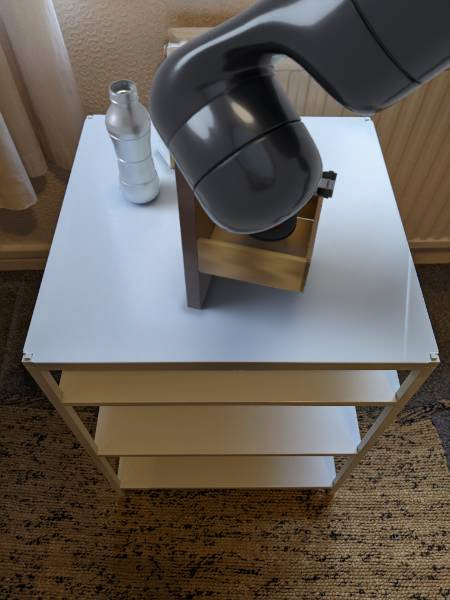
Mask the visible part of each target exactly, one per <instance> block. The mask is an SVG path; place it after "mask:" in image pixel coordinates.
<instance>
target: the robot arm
mask: <svg viewBox="0 0 450 600" xmlns="http://www.w3.org/2000/svg"><path fill="white" fill-rule="evenodd" d="M287 59H290V60H291V61H293V62H294V63H295V64H297V65H298V66H299V67H300V68H301V69H302V70H303V71H304V72H306V73H307V74H308V75H309V76H310V78H311V79H312V80H314V82H315V83H316V84H317V85H318V86H319V87H320V88H321V89H322V90H323V91H324V92H325V93H326V94H327V95H328V96H329V97H331V98H332V99H333V100H334V101H335V102H336V103H337V104H338V105H339V106H341V107H342V108H344V109H345V110H347V111H348V112H351V113H353V114H355V115H359V116H372V115H376V114H379V113H381V112H383V111H385V110H387V109H389V108H391V107H393V106H394V105H396V104H397V103H399V102H401V101H402V100H404V98H407V97H408V96H409V95H411V94H412V93H414V92H415V91H416V90H418V89H419V88H420V87H422V86H424V84H426V83H428V82H430V81H431V80H432V79H434V78H435V77H437V76H438V75H440V74H441V73H443V72H444V71H445V70H446V69H448V68H449V67H450V0H257V1H256V2H255V3H253V4H251V5H250V6H248V7H247V8H245V9H244V10H243V11H240V12H239V13H237V14H235V15H234V16H232V17H230V18H229V19H227V20H225V21H223V22H221V23H219V24H218V25H216V26H214V27H212V28H210V29H208V30H206V31H204V32H203V33H201V34H199V35H197V36H195V37H194V38H192V39H190V40H188V41H187V42H184V43H183V44H182V45H181V46H178V48H176V49H175V50H173V51H172V52H170V54H168V55H167V56H166V58H165V59H164V60H163V61H162V62H161V64H160V65H159V67H158V68H157V69H156V72H155V73H154V76H153V78H152V81H151V84H150V86H149V91H148V98H147V111H148V113H149V115H150V118H151V124H152V125H153V126H152V127H154V129H155V131H156V134H157V133H158V134H159V136H160V138H161V139H162V141H163V143H164V144H165V146H166V148H167V149H168V150H169V153H170V154H171V156H172V158H173V159H174V161H175V162H176V164H177V166H178V167H179V169H180V171H181V172H182V174H183V175H184V177H185V179H186V180H187V182H188V184H189V185H190V187H191V189H192V190H193V191H194V194H195V196H196V197H197V199H198V201H199V202H200V204H201V206H202V207H203V209H204V210H205V212H206V213H207V214H208V216H209V217H210V218H211V220H212V221H213V222H214V223H216V224H217V225H218V226H219V227H220V228H222V229H223V230H225V231H227V232H230V233H234V234H253V233H257V232H262V231H265V230H268V229H270V228H272V227H275V226H277V225H279V224H280V223H282V222H284V221H285V220H287V219H288V218H290V217H291V216H293V215H294V214H295V213H296V212H298V211H299V210H300V209H301V208H302V207H303V206H304V205H305V204H306V203H307V201H308V200H309V199H310V198H311V197H313V196H315V197H323V199H329V198H331V199H332V198H333V194H334V189H335V186H336V183H337V182H336V181H337V177H338V172H335V171H334V170H327V171H325V170H324V164H323V163H324V162H323V160H322V155H321V153H320V151H319V148H318V146H317V144H316V142H315V140H314V139H313V137H312V135H311V133H310V131H309V130H308V129H307V126H306V125H305V123H304V122H303V121H302V118H301V116H300V114H299V113H298V111H297V109H296V108H295V105H294V104H293V103H292V101H291V99H290V97H289V96H288V94H287V92H286V90H285V89H284V88H283V87H284V86H282V84H281V82H280V81H279V78H278V77H277V75H276V73H275V69H276V67H277V66H278V65H280V64H281V63H282V62H283V61H285V60H287Z"/></svg>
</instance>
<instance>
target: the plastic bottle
mask: <svg viewBox="0 0 450 600" xmlns="http://www.w3.org/2000/svg"><path fill="white" fill-rule="evenodd" d="M108 91H109V101H110V103H111V104H110V105H109V107H108V108H107V111H106V113H105V116H104V125H105V129H106V131H107V134H108V136H109V138H110V140H111V144H112V145H113V149H114V152H115V156H116V159H117V160H116V162H117V168H118V188H119V191H120V192H121V194H122V196H123V198H124V199H126V200H127V201H128V202H131V203H133V204H140V205H141V204H146V203H149V202H151V201H153V200H154V199H155V198H156V197H157V196H158V194H159V192H160V186H161V181H160V177H159V174H158V170H157V169H156V166H155V162H154V159H153V154H152V153H153V152H152V142H151V135H152V133H151V132H152V121H151V118H150V115H149V111H148V108H146V107H145V106H144V104H142V103H141V102H140V101H139V92H138V89H137V84H136V83H135V82H134V81H133V80H130V79H127V78H124V79H117V80H114V81H112V82H111V83H110V84H109V85H108Z"/></svg>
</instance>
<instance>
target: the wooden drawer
mask: <svg viewBox="0 0 450 600" xmlns="http://www.w3.org/2000/svg"><path fill="white" fill-rule="evenodd" d="M173 169H174V178H175V187H176V198H177V209H178V218H179V220H178V221H179V231H180V232H179V233H180V241H181V242H180V243H181V252H182V263H183V273H184V274H183V275H184V285H185V295H186V305H187V307H188V308H192V309H197V310H201V309H202V306H203V304H204V300H205V298H206V295H207V292H208V288H209V286H210V283H211V280H212V276H216V277H221V278H227V279H230V280H231V279H232V280H235V281H240V282H245V283H250V284H255V285H259V286H265V287H270V288H274V289H279V290H284V291H289V292H293V293H302V294H303V293H304V292H305V288H306V285H307V279H308V275H309V272H310V266H311V263H312V258H313V253H314V248H315V242H316V237H317V233H318V232H317V231H318V229H319V223H320V218H321V214H322V208H323V202H324V198H323V197H315V196H313V197H311V198H310V199H309V200H308V201H307V203H306V204H305V205H304V206H303V207H302V208H301V209H300V210H299V211H298V212H296V216H297V224H296V228H295V230H294V232H293V233H292V234H291V235H290V236H289V237H287V238H285V239H283V240H280V241H276V242H265V241H261V240H257V239H255V238H253V237H251V236H250V235H249V234H234V233H230V232H227V231H225V230H223V229H222V228H220V227H219V226H218V225H217V224H216V223H214V222H213V221H212V220H211V218H210V217H209V216H208V214H207V213H206V212H205V210H204V209H203V207H202V206H201V204H200V202H199V201H198V199H197V197H196V196H195V194H194V191H193V190H192V189H191V187H190V185H189V184H188V182H187V180H186V179H185V177H184V175H183V174H182V172H181V171H180V169H179V167H178V166H177V164H176V162H175V161H174V168H173Z"/></svg>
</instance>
